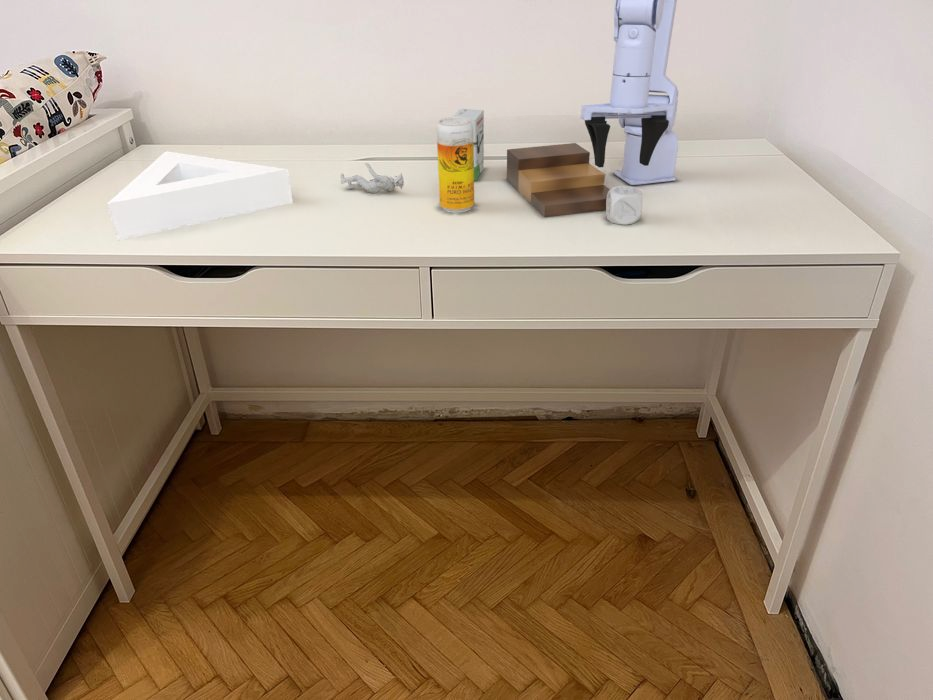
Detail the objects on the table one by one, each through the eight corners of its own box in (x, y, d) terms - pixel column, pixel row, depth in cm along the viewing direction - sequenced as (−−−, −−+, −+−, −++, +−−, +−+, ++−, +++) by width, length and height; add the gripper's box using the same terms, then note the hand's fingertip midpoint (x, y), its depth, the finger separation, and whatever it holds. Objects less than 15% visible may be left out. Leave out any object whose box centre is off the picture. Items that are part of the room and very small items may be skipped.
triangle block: (118, 241, 113) (106, 203, 109) (92, 198, 131) (81, 165, 128) (293, 203, 126) (288, 169, 123) (247, 169, 145) (241, 138, 142)
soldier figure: (357, 188, 136) (412, 172, 131) (357, 210, 134) (412, 195, 130) (335, 168, 129) (391, 151, 125) (335, 192, 127) (392, 175, 123)
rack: (573, 173, 138) (575, 142, 135) (620, 208, 121) (623, 174, 118) (506, 180, 135) (506, 149, 132) (544, 217, 118) (545, 182, 115)
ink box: (476, 181, 135) (476, 118, 128) (452, 180, 136) (450, 118, 129) (484, 168, 142) (484, 108, 136) (461, 167, 143) (459, 107, 137)
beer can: (449, 216, 119) (446, 127, 111) (434, 205, 124) (430, 119, 116) (480, 209, 121) (479, 122, 113) (464, 199, 126) (462, 114, 118)
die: (640, 224, 114) (643, 195, 111) (609, 225, 114) (612, 195, 111) (634, 213, 118) (637, 185, 116) (605, 214, 118) (607, 185, 116)
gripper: (595, 78, 101) (587, 172, 107) (688, 77, 103) (674, 169, 109) (579, 73, 107) (572, 162, 113) (667, 72, 109) (655, 159, 116)
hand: (621, 165), depth 112 cm, fingers open, 7 cm apart
